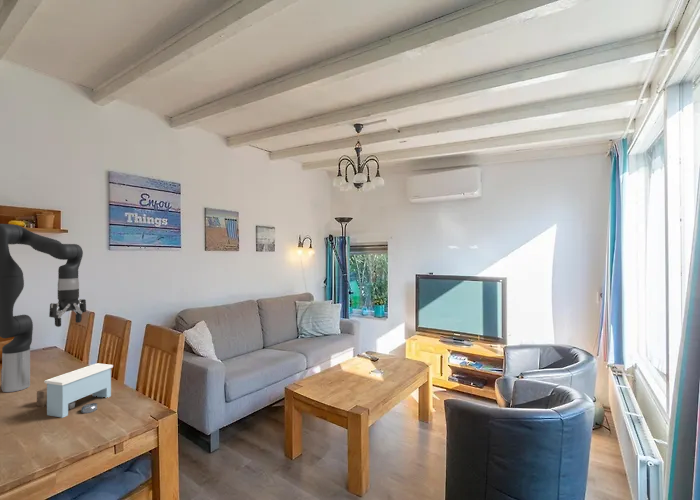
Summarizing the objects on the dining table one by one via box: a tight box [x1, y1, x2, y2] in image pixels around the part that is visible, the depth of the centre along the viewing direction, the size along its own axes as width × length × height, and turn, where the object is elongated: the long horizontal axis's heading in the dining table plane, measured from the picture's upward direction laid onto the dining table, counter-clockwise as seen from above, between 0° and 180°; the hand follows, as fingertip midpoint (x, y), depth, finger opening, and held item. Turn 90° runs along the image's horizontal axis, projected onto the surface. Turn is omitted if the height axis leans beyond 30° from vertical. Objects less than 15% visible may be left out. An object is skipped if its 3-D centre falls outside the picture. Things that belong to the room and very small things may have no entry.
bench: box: [44, 362, 114, 418], centre depth 143 cm, size 9×21×14 cm, turn 165°
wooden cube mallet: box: [36, 386, 76, 410], centre depth 143 cm, size 16×4×6 cm, turn 75°
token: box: [81, 402, 98, 414], centre depth 139 cm, size 5×5×2 cm
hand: (68, 324), depth 157 cm, fingers open, 8 cm apart
